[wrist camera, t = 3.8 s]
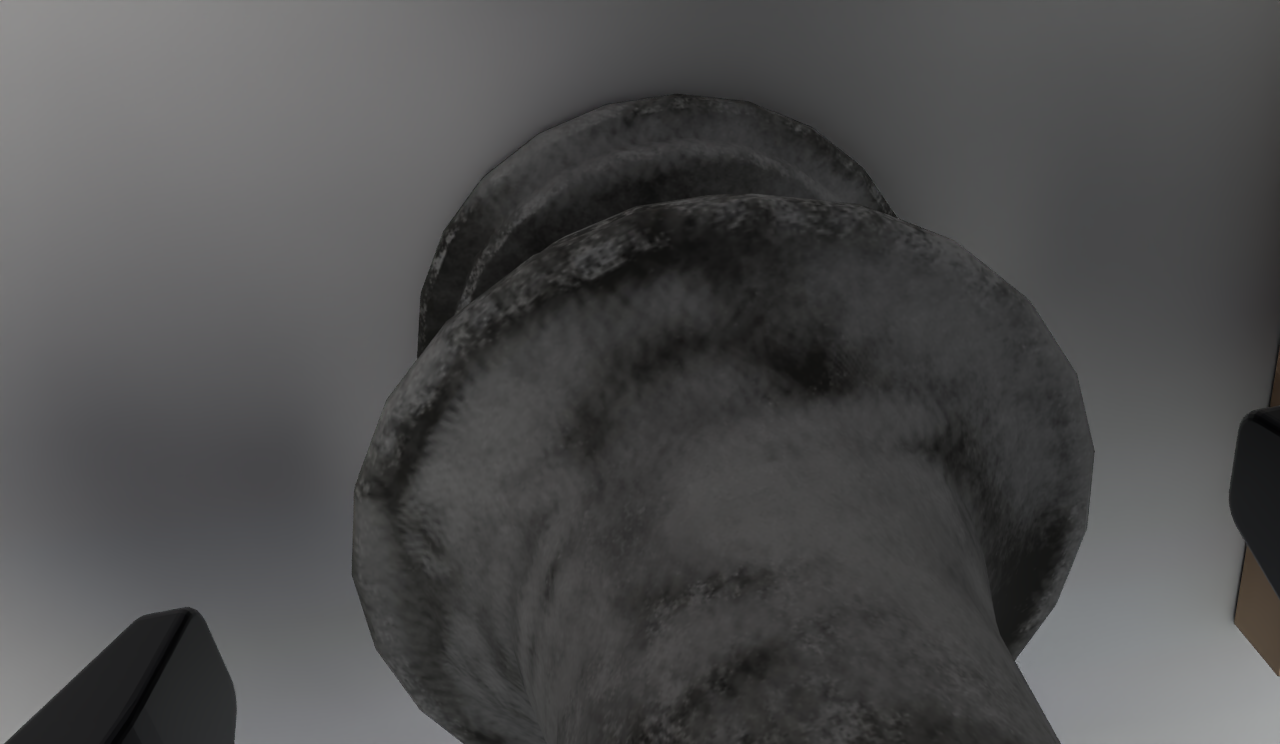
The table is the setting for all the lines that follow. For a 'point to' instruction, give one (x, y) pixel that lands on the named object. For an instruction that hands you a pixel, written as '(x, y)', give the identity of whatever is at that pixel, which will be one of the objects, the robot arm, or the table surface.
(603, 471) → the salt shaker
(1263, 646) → the socket board
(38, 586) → the table surface
